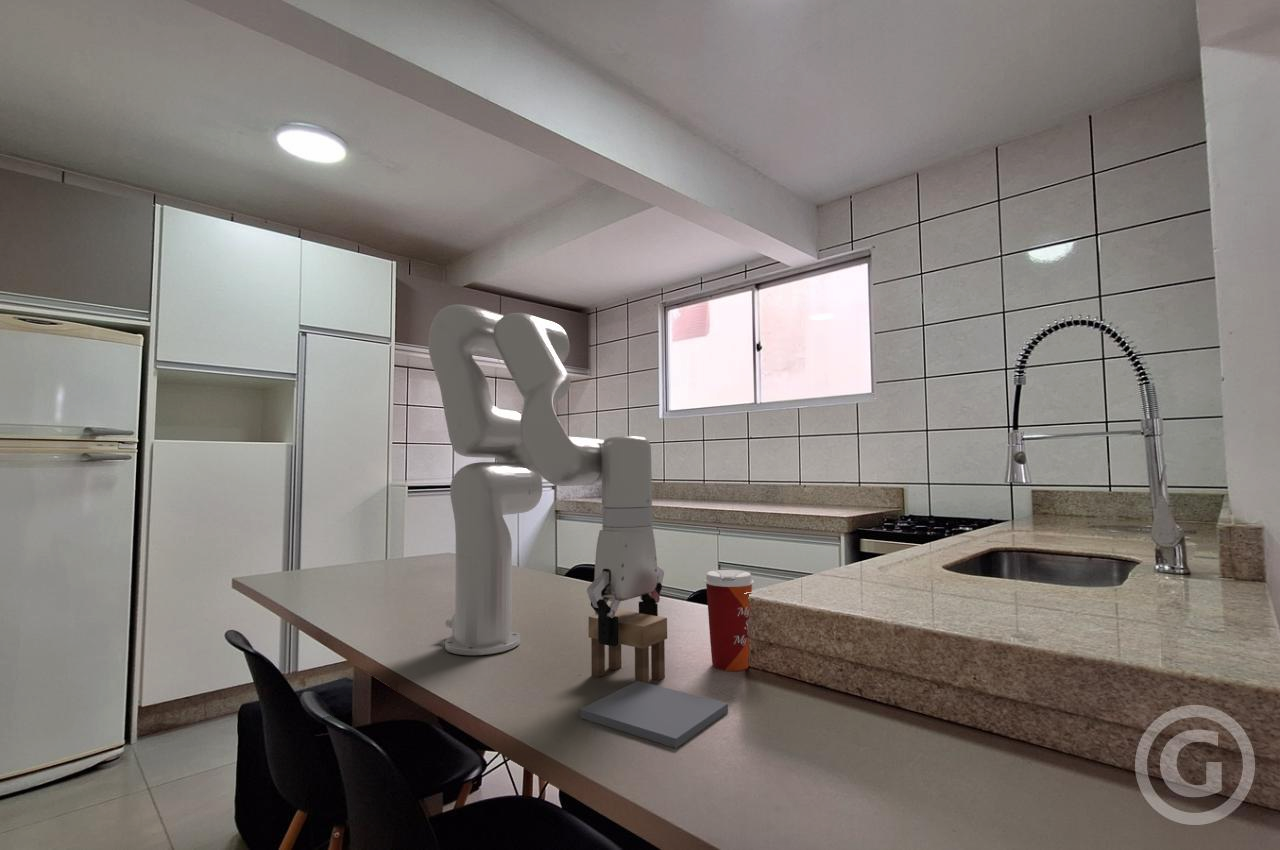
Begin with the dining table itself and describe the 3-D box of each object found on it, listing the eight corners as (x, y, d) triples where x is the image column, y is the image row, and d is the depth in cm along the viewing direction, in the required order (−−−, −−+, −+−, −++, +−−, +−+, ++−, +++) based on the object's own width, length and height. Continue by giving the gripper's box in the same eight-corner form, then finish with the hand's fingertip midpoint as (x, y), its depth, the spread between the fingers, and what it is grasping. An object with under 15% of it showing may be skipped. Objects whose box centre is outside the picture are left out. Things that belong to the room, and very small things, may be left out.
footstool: (588, 675, 88) (588, 616, 89) (614, 664, 93) (613, 608, 94) (643, 689, 83) (643, 626, 83) (667, 677, 87) (667, 617, 88)
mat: (579, 717, 74) (579, 709, 74) (637, 688, 83) (637, 680, 83) (676, 748, 65) (676, 738, 65) (728, 711, 75) (727, 703, 75)
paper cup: (755, 675, 88) (753, 578, 89) (703, 672, 90) (701, 576, 91) (756, 658, 96) (754, 569, 97) (707, 656, 97) (706, 568, 98)
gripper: (641, 514, 99) (643, 620, 97) (569, 522, 85) (570, 647, 83) (679, 515, 94) (682, 627, 93) (610, 524, 80) (612, 656, 79)
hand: (629, 636), depth 88 cm, fingers open, 9 cm apart
